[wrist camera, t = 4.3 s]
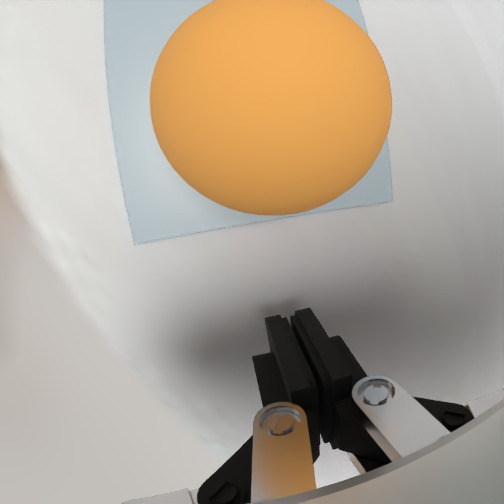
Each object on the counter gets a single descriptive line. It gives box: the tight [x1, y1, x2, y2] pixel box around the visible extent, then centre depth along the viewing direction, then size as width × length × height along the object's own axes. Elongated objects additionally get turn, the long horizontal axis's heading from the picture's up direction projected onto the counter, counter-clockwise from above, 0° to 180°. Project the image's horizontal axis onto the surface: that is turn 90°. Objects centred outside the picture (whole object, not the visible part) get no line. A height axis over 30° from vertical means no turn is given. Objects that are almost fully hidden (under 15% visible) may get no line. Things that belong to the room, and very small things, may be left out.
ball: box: [150, 0, 392, 216], centre depth 7 cm, size 6×6×6 cm
